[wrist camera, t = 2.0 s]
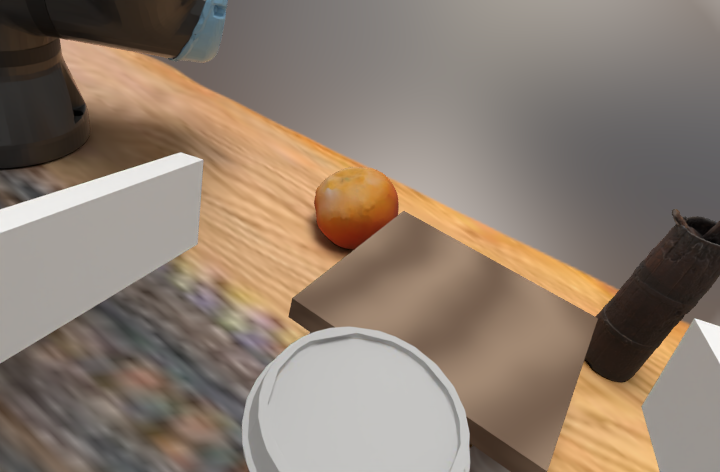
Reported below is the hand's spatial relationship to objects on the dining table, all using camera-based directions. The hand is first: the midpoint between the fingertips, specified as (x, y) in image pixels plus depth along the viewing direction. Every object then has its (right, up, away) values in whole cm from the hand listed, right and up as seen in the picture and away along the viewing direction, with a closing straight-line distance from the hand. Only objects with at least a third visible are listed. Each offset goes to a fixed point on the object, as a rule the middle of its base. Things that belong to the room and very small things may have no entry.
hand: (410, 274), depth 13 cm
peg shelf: (+3, -10, +23) cm, 25 cm away
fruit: (-2, +1, +36) cm, 36 cm away
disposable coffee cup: (-4, -15, +14) cm, 21 cm away
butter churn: (+19, -9, +30) cm, 37 cm away
